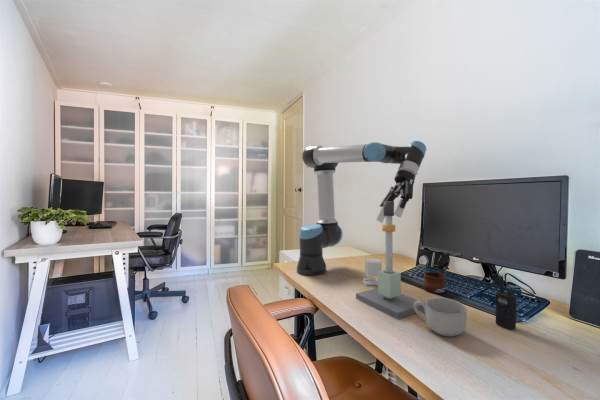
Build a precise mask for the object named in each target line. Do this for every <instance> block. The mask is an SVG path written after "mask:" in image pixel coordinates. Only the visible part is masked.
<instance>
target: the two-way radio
mask: <svg viewBox="0 0 600 400" xmlns="http://www.w3.org/2000/svg"><path fill="white" fill-rule="evenodd" d="M504 286H505V285H504V276H503V275H500V277H499V288H498V290H499V291H497V292H496V293H495V312H494V313H495V314H494V315H495V324H496V325H498V326H500V327H503V328H505V329H508V330H516V328H517V327H516V326H517V313H518V311H517V309H518V308H517V307H518V306H517V305H518V304H517V297H516V296H515V295H514V293H513V291H512V290H511V289H507V290H506V291H507V292H505V291H504V290H505V289H504V288H505V287H504Z"/></svg>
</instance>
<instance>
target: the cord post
mask: <svg viewBox="0 0 600 400" xmlns="http://www.w3.org/2000/svg"><path fill="white" fill-rule="evenodd" d="M394 212H395V200H394V201H384V216H385V218H384V221H385V222H384V223H385V224H382V232H384V233H385V236H384V237H385V242H384V243H385V270H386V273H388V274H392V273H393V271H394V270H393V263H394V261H393V259H394V258H393V255H394V254H393V251H394V250H393V232H396V224H393V217H394V216H395V215H394ZM355 299H356V300H358V301H359V302H362V303H365V304H366V305H368V306H370V307H373V308H374V309H377V310H379V311H380V312H383V313H385V314H386V315H388V316H390V317H393V318H395V319H397V320H399V319H402V318H405V317H408V316H410V315H414V314H417V313H416V312H415V310H414V307H413V306H414V303H415V302H416V301H418V300H419V299H415V298H413V297H411V296H408V295H405V294H403V293H401V295H399V296H396V297H392V298H388V297H386V296H383V295H381V294H378V287H376V288H372V289H368V290H365V291H360V292H356V293H355ZM417 308H418V310H419V311H420V312H423V311H425V310H424V307H423V306H422V305H421V304H418V305H417Z"/></svg>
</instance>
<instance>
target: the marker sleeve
mask: <svg viewBox="0 0 600 400" xmlns="http://www.w3.org/2000/svg"><path fill="white" fill-rule="evenodd" d="M377 281H378V285H377V288H378V294H381V295H383V296H386V297H388V298H392V297H396V296H399V295H401V294H402V291H401V290H402V274H401V272H399V271H396V270H393V273H392V274H388V273H386V269H382V271H378V276H377Z"/></svg>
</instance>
